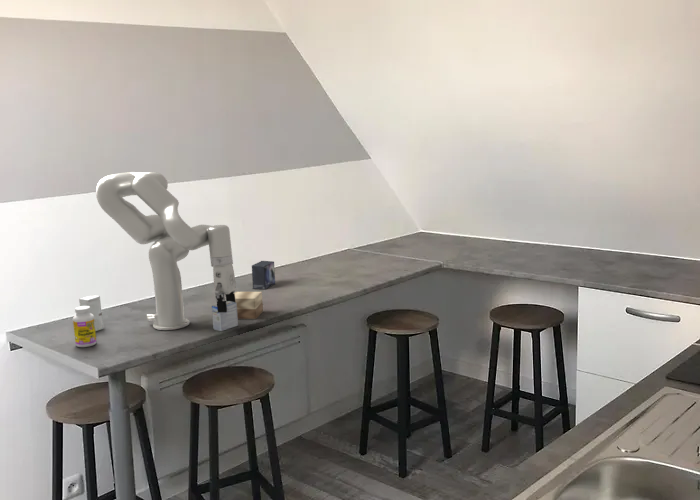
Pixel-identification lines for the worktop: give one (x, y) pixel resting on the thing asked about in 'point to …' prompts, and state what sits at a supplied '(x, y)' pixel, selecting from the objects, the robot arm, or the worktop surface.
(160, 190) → the robot arm
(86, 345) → the supplement bottle
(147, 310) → the worktop surface
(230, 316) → the medicine box
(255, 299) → the birch slab
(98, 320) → the skincare box
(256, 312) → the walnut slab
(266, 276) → the small box
